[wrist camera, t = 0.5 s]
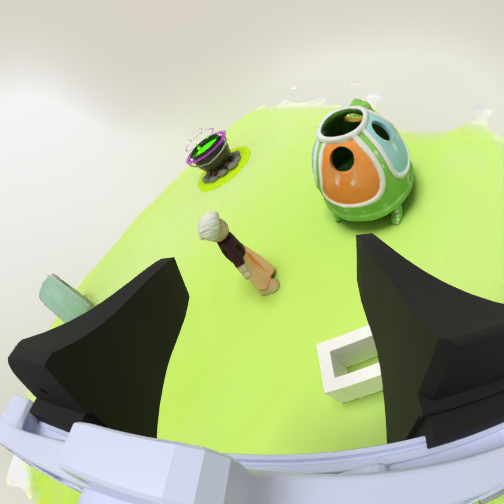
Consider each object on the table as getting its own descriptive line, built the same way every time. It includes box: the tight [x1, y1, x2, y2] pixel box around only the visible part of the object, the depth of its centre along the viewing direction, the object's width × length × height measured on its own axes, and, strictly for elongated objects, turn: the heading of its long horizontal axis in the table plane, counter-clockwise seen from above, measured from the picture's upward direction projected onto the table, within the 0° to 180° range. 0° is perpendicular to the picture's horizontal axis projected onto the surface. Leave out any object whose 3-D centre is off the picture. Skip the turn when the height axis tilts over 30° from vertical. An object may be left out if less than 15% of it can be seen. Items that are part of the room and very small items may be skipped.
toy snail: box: [39, 274, 95, 323], centre depth 62 cm, size 25×8×14 cm, turn 58°
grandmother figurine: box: [198, 211, 279, 295], centre depth 35 cm, size 8×4×13 cm, turn 33°
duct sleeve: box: [317, 325, 383, 403], centre depth 23 cm, size 6×4×5 cm
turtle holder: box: [312, 99, 415, 225], centre depth 34 cm, size 12×18×12 cm
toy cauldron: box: [186, 131, 251, 191], centre depth 65 cm, size 15×15×11 cm
